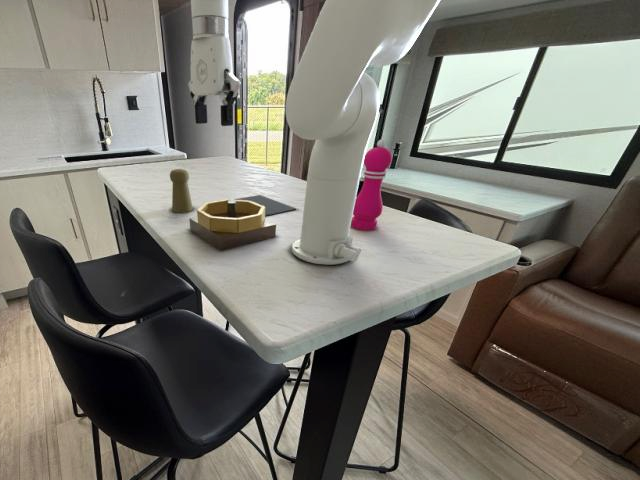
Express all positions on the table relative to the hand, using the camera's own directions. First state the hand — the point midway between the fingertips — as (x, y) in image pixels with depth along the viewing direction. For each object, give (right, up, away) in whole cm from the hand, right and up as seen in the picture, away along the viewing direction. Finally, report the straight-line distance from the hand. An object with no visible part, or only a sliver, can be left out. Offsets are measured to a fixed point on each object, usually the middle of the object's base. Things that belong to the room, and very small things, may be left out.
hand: (213, 124), depth 76 cm
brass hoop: (+4, -22, -1) cm, 22 cm away
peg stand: (+4, -26, +1) cm, 26 cm away
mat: (+10, -14, +20) cm, 26 cm away
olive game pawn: (-11, -15, +17) cm, 26 cm away
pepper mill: (+38, -23, +6) cm, 45 cm away
